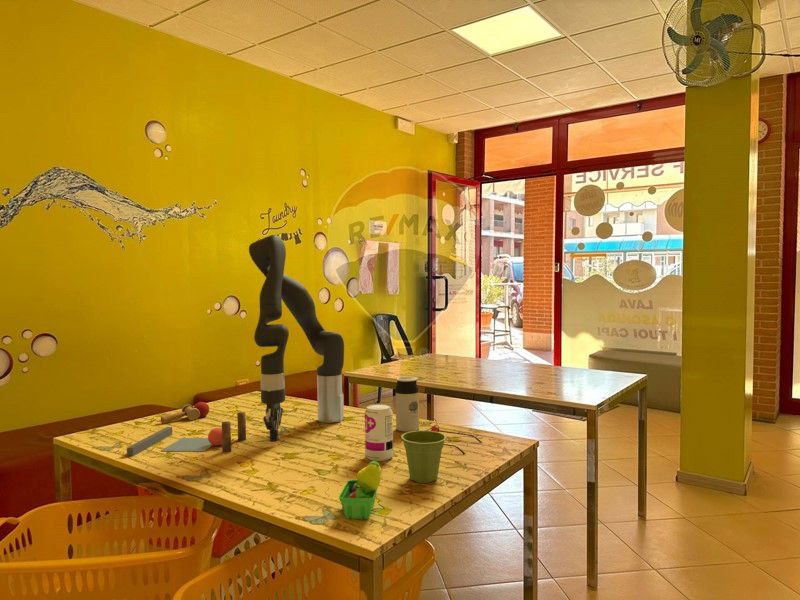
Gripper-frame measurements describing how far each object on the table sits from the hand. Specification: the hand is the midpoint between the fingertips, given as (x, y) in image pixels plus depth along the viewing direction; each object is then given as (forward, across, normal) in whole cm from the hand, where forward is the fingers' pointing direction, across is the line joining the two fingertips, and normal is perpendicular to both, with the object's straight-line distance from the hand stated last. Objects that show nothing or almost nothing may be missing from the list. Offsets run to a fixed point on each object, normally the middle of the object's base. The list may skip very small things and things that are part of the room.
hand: (274, 441), depth 177 cm
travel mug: (+2, -21, +41) cm, 46 cm away
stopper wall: (+2, 0, -41) cm, 41 cm away
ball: (-1, 0, -19) cm, 19 cm away
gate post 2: (+2, -6, -13) cm, 15 cm away
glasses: (+2, -3, +56) cm, 56 cm away
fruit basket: (+2, +48, +36) cm, 60 cm away
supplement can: (+2, +10, +35) cm, 36 cm away
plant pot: (+2, +27, +49) cm, 56 cm away
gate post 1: (+2, +6, -13) cm, 15 cm away
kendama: (+2, -32, -45) cm, 55 cm away
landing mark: (+2, 0, -27) cm, 27 cm away
